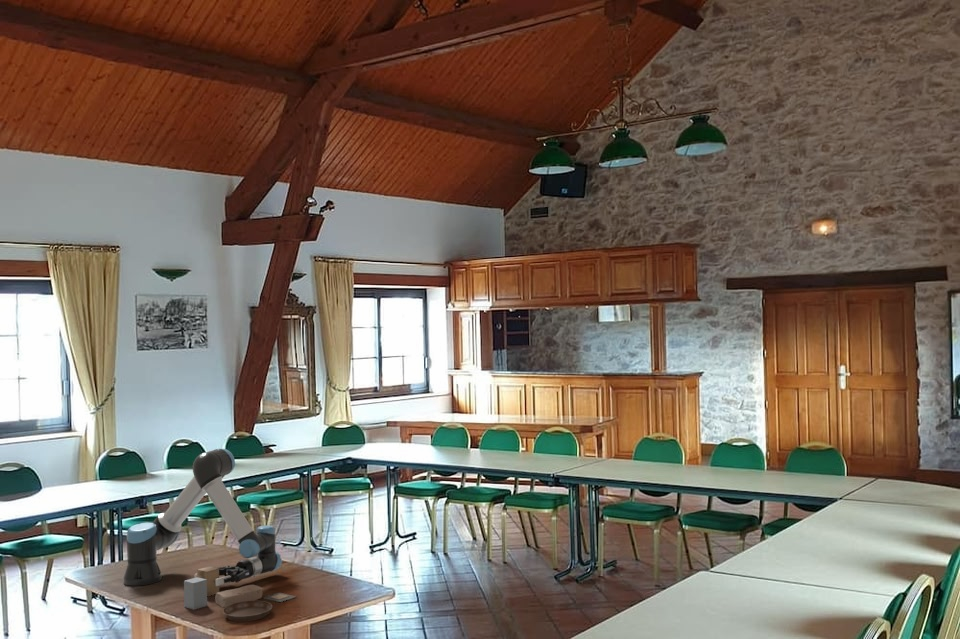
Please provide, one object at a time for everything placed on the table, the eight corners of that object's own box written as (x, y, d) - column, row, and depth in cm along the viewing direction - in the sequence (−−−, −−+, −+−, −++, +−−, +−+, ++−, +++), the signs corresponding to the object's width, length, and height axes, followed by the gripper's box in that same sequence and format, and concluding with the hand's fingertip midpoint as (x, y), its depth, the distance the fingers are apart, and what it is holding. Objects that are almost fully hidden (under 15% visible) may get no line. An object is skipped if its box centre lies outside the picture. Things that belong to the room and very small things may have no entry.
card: (263, 598, 359) (263, 596, 359) (279, 593, 365) (279, 592, 365) (280, 602, 353) (280, 601, 353) (296, 597, 359) (296, 596, 359)
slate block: (184, 607, 350) (183, 580, 350) (197, 603, 355) (197, 577, 355) (193, 609, 346) (193, 583, 346) (207, 605, 351) (206, 579, 351)
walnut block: (197, 594, 366) (197, 569, 366) (210, 590, 371) (209, 566, 371) (206, 596, 363) (206, 571, 363) (219, 593, 367) (218, 568, 368)
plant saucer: (257, 625, 327) (257, 616, 327) (213, 622, 332) (213, 613, 332) (281, 610, 344) (280, 602, 344) (238, 607, 349) (238, 599, 349)
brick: (223, 608, 348) (223, 595, 348) (214, 603, 354) (214, 591, 355) (263, 599, 359) (263, 587, 359) (253, 595, 365) (253, 583, 365)
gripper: (268, 581, 375) (225, 594, 358) (229, 572, 390) (186, 584, 373) (267, 563, 375) (225, 575, 358) (229, 555, 390) (186, 566, 373)
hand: (205, 580), depth 366 cm, fingers open, 13 cm apart
